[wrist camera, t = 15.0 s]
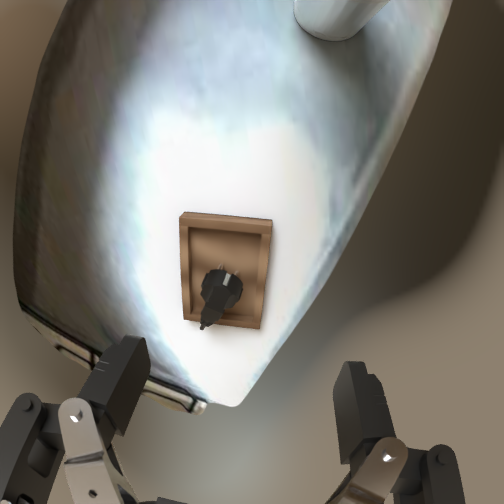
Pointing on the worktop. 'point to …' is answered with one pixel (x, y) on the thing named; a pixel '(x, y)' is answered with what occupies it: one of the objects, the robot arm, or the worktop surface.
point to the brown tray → (224, 262)
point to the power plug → (219, 294)
